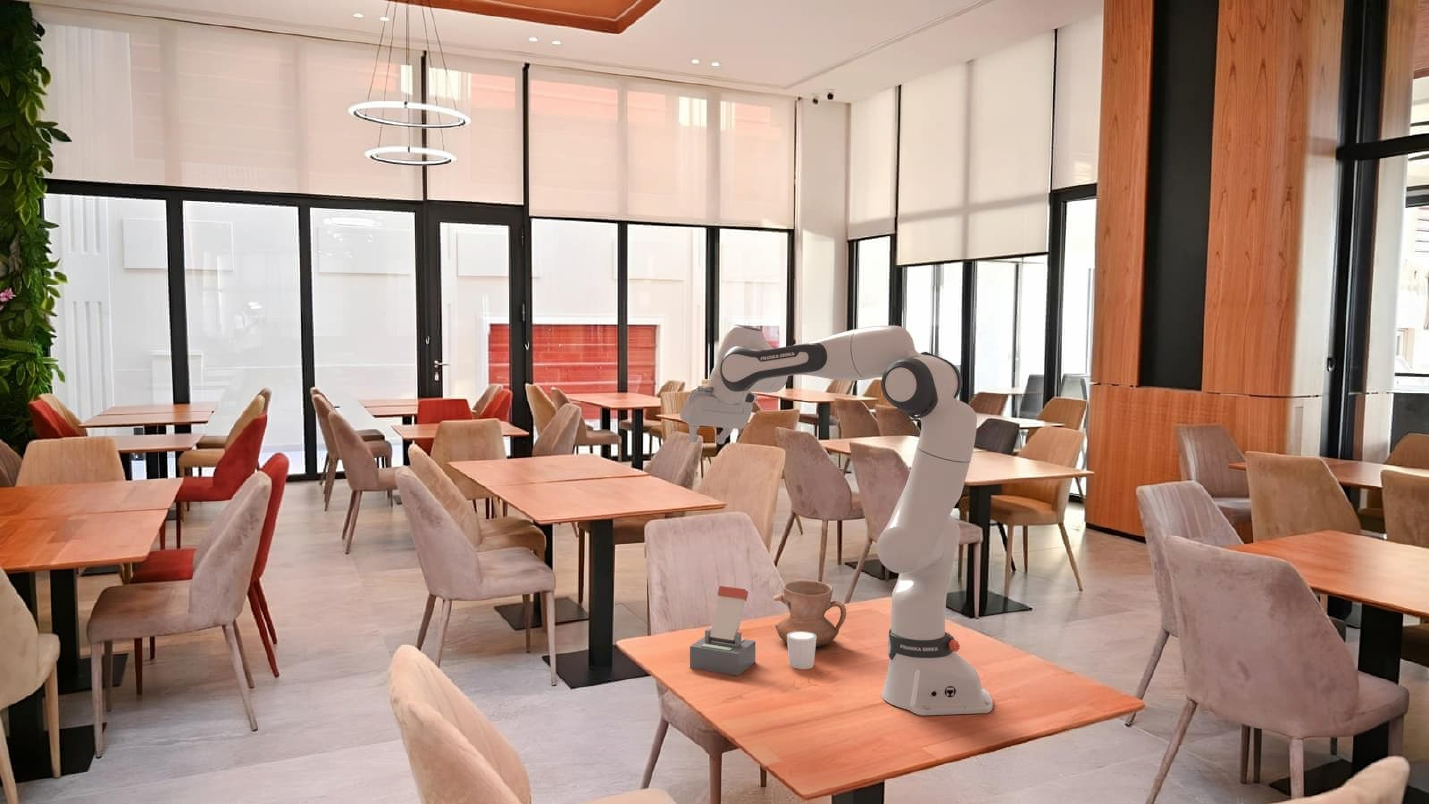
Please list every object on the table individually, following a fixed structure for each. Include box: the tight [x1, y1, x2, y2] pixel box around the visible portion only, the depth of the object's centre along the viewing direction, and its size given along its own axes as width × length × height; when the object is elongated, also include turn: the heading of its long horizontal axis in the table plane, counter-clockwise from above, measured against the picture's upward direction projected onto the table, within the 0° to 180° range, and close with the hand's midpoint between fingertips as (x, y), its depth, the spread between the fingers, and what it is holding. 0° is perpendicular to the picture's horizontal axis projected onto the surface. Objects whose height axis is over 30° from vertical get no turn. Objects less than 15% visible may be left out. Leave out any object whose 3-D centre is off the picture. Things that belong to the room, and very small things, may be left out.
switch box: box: [689, 627, 756, 677], centre depth 221 cm, size 10×12×8 cm
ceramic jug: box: [773, 579, 847, 648], centre depth 237 cm, size 18×14×14 cm
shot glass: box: [786, 631, 817, 670], centre depth 221 cm, size 7×7×7 cm
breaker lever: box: [710, 585, 749, 644], centre depth 223 cm, size 3×6×13 cm, turn 65°
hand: (705, 442), depth 231 cm, fingers open, 8 cm apart
